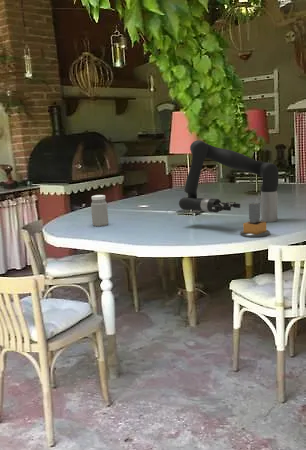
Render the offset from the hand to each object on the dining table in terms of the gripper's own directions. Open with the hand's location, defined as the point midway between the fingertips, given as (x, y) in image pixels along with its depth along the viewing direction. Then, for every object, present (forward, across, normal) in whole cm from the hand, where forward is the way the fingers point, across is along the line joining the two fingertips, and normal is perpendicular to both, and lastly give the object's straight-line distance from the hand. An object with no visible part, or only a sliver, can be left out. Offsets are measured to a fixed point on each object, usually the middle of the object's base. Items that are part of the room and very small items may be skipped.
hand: (235, 207), depth 280 cm
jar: (-84, -23, +13) cm, 88 cm away
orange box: (+12, 0, +14) cm, 18 cm away
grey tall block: (+12, 0, +12) cm, 17 cm away
